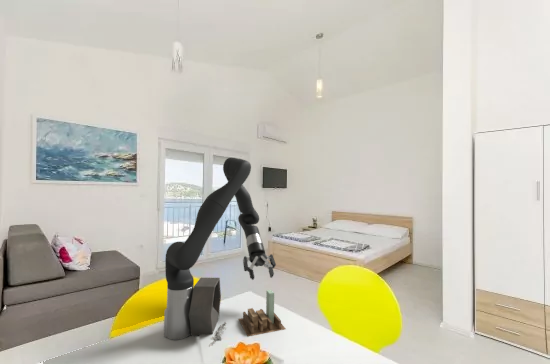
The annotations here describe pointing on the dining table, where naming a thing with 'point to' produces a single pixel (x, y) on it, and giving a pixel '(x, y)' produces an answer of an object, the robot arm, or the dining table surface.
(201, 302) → the planter
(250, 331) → the rack
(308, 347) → the dining table surface
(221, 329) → the white statue
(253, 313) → the offcut
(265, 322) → the offcut
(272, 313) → the pale green block
